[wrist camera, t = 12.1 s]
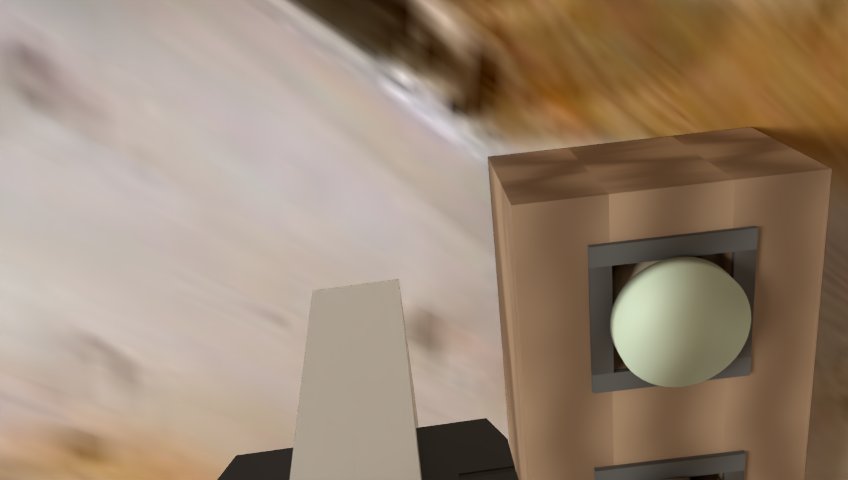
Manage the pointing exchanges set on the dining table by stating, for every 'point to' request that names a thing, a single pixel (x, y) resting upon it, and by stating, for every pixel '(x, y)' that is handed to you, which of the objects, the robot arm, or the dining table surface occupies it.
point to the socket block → (642, 242)
